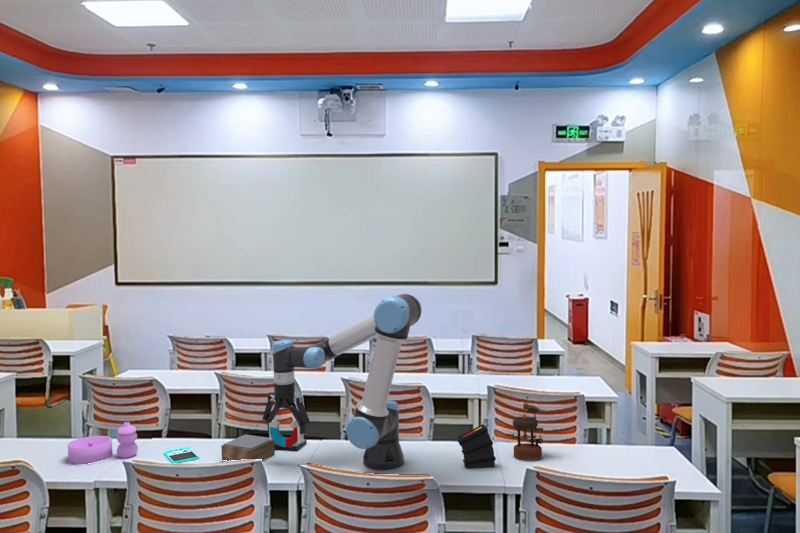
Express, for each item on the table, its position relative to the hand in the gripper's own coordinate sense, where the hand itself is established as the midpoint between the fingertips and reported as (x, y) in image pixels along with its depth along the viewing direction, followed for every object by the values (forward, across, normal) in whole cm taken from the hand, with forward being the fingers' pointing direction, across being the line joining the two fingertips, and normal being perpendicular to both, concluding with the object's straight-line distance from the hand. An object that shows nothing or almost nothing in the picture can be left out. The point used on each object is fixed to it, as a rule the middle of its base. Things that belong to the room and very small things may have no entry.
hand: (286, 440), depth 233 cm
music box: (+11, +79, +41) cm, 90 cm away
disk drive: (+9, -13, +17) cm, 23 cm away
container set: (+7, -71, -21) cm, 74 cm away
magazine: (+10, +65, +24) cm, 70 cm away
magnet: (+2, 0, 0) cm, 2 cm away
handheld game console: (+8, -44, -8) cm, 45 cm away
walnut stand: (+8, -18, 0) cm, 20 cm away
